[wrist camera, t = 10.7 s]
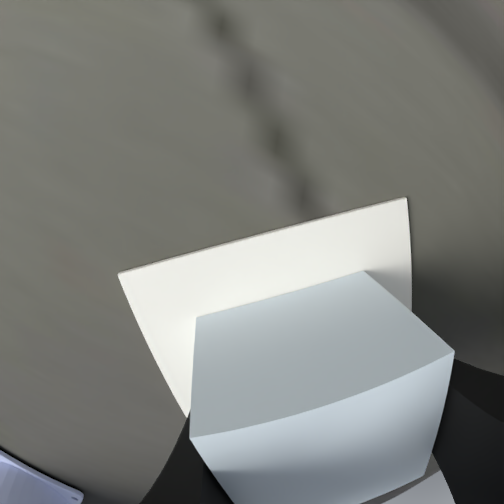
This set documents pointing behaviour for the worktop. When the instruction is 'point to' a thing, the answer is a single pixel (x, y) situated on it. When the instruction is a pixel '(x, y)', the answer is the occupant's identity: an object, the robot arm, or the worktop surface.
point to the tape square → (263, 277)
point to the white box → (317, 394)
